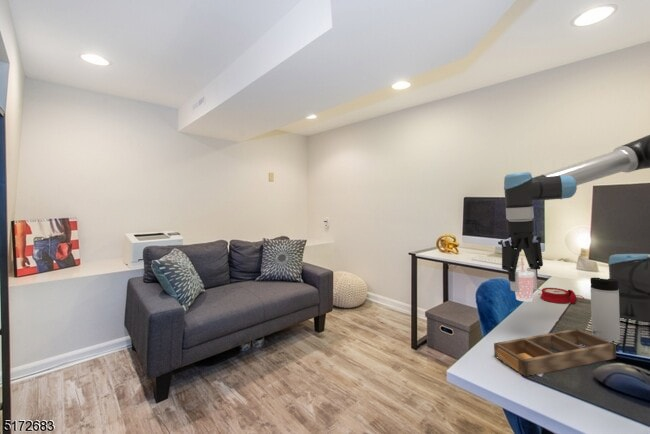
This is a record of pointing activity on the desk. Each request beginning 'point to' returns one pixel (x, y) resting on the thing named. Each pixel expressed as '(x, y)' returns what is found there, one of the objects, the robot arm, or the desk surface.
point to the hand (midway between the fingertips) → (523, 289)
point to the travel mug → (605, 309)
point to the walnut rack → (536, 359)
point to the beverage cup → (525, 285)
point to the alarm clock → (558, 295)
